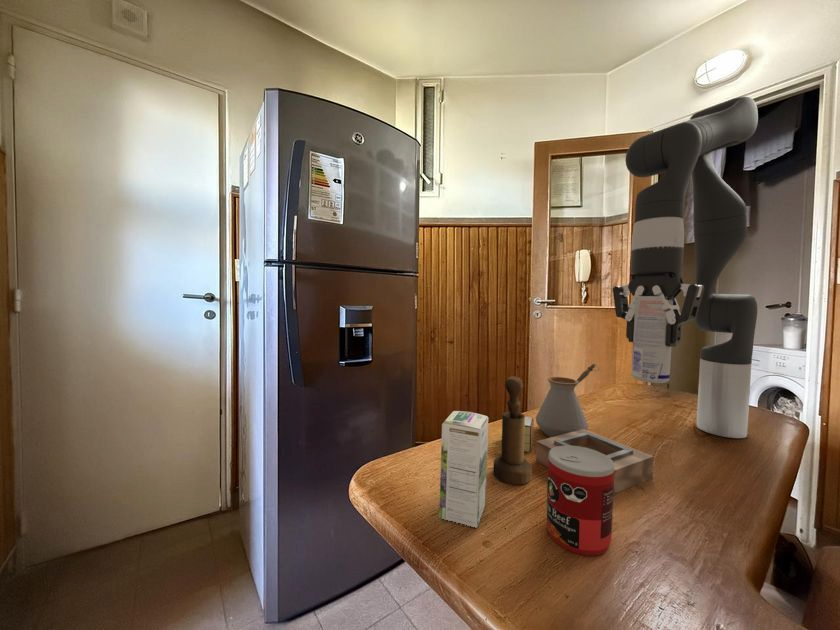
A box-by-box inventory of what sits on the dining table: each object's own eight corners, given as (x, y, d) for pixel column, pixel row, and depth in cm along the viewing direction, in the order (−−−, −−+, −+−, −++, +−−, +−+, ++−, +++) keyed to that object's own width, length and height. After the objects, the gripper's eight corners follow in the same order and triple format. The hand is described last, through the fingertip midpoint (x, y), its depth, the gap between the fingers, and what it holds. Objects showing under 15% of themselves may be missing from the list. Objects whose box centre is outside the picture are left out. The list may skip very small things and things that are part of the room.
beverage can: (676, 385, 57) (681, 295, 57) (639, 383, 58) (644, 295, 58) (659, 377, 63) (663, 296, 62) (626, 375, 64) (630, 295, 63)
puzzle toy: (506, 438, 78) (507, 413, 78) (533, 442, 76) (533, 417, 76) (502, 448, 73) (503, 422, 72) (530, 453, 71) (531, 426, 70)
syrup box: (449, 498, 55) (451, 409, 54) (486, 506, 52) (488, 414, 52) (438, 519, 49) (439, 421, 48) (479, 530, 47) (481, 427, 46)
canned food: (536, 519, 50) (539, 445, 49) (589, 516, 50) (592, 443, 50) (563, 559, 42) (566, 473, 41) (624, 556, 43) (628, 470, 42)
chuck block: (583, 447, 74) (584, 426, 73) (652, 478, 61) (653, 453, 61) (536, 460, 67) (536, 438, 67) (602, 498, 55) (603, 470, 55)
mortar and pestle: (531, 470, 64) (534, 374, 63) (530, 488, 58) (533, 383, 57) (495, 463, 66) (497, 371, 65) (491, 481, 60) (493, 379, 59)
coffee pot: (570, 448, 73) (573, 379, 72) (525, 431, 82) (526, 369, 81) (616, 426, 85) (619, 367, 85) (572, 413, 95) (574, 360, 94)
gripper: (717, 244, 55) (711, 348, 56) (627, 253, 68) (623, 338, 68) (694, 239, 51) (688, 351, 52) (604, 250, 64) (599, 340, 65)
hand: (651, 343), depth 60 cm, fingers closed on beverage can, 5 cm apart
